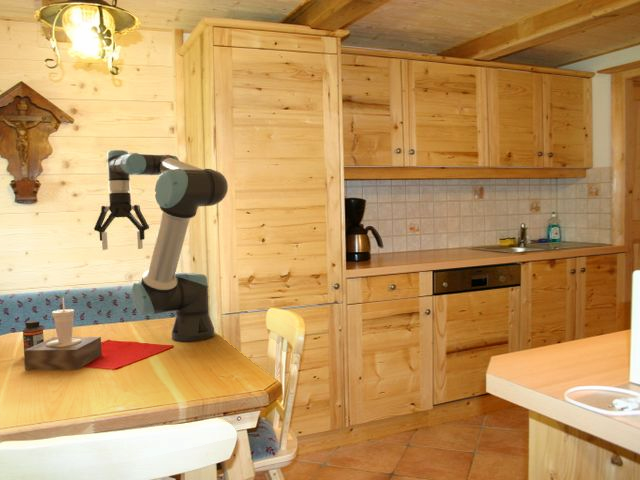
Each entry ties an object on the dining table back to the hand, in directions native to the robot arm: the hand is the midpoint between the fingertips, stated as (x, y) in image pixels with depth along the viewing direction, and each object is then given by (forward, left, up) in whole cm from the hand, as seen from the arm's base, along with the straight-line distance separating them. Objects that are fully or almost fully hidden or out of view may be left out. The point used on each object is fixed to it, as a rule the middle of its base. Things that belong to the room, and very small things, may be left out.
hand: (122, 249), depth 214 cm
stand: (+3, +40, -32) cm, 51 cm away
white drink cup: (+3, +40, -26) cm, 47 cm away
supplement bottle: (+18, +31, -32) cm, 48 cm away
